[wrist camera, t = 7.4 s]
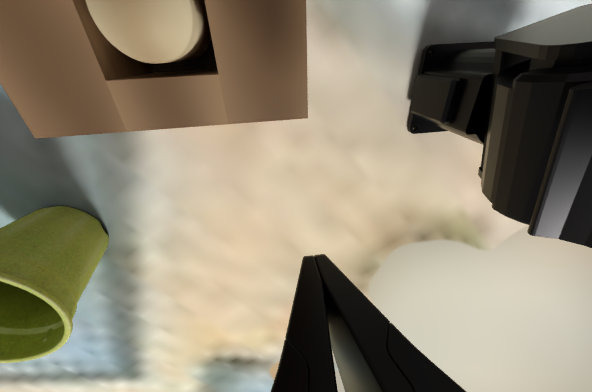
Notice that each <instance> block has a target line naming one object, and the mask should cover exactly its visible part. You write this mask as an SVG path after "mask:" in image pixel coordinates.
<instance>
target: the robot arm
mask: <svg viewBox="0 0 592 392" xmlns="http://www.w3.org/2000/svg"><path fill="white" fill-rule="evenodd" d="M430 50H432V54H431V55H430V56H429V51H430ZM410 111H411V112H410V117H409V122H408V128H407V129H408V131H409V132H410V133H413V134H417V133H428V132H440V131H450V132H453V133H455V134H458V135H460V136H463V137H465V138H468V139H470V140H473V141H475V142H478V143H480V144H483V145H484V146H483V154H482V162H481V167H479V172H478V175H479V176H480V178H481V179H482V180H481V186H482V192H483V194H484V195H485V196H486V197H487V198H488V200H489V201H490V202H491V203H492V208H493V209H494V210H496V211H498V212H499V213H501V214H503V215H504V216H506V217H508V218H511V219H513V220H516V221H518V222H521V223H524V224H528V225H529V229H528V233H529V234H530V235H532V236H539V237H547V238H554V239H560V240H565V241H569V242H572V243H576V244H581V245H584V246H587V247H590V248H592V4H588V5H584V6H580V7H577V8H574V9H572V10H569V11H566V12H563V13H560V14H558V15H555V16H552V17H549V18H547V19H544V20H541V21H538V22H536V23H533V24H530V25H527V26H525V27H522V28H519V29H516V30H514V31H511V32H508V33H505V34H503V35H500V36H497V37H495V40H494V42H477V43H456V44H436V45H428V46H427V47H425V49H424V50H423V53H422V58H421V63H420V68H419V73H418V77H417V78H416V82H415V87H414V92H413V97H412V102H411V107H410ZM415 125H416V127H415V129H413V126H415ZM331 347H332V348H331ZM332 350H333V353H334V357H335V360H336V363H337V366H338V369H339V373H340V376H341V379H342V382H343V386H344V389H345V392H466V391H465V390H464V389H462V388H461V387H460V386H459V385H458V384H457V383H456V382H454V381H453V380H452V379H451V378H450V377H449V376H448V375H446V374H445V373H444V372H443V371H442V370H440V369H439V368H438V367H437V366H436V365H435V364H434V363H433V362H431V361H430V360H429V359H428V358H427V357H426V356H425V355H424V354H423V353H421V352H420V351H419V350H418V349H417V348H416V347H415V346H414V345H413V344H412V343H411V342H410V341H409V340H408V339H407V338H406V337H404V335H402V333H401V332H400V331H399V330H398V329H396V327H395V326H394V325H393V324H392V323H390V321H389V320H388V319H387V318H386V317H385V316H384V315H383V314H382V313H381V312H380V311H379V310H378V309H377V308H376V307H375V306H374V305H373V304H372V303H371V302H370V301H369V300H368V298H367V297H366V296H365V295H364V294H363V293H362V292H361V291H360V290H359V289H358V288H357V287H356V286H355V285H354V284H353V283H352V282H351V281H350V280H349V279H348V278H347V277H346V276H345V275H344V274H343V273H342V272H341V271H340V270H339V269H338V268H337V266H336V265H335V264H334V263H333V262H332V261H331V260H330V259H329V258H328V257H327V256H326V255H324V254H320V255H315V256H304V257H303V260H302V265H301V269H300V274H299V278H298V283H297V287H296V292H295V297H294V301H293V306H292V310H291V315H290V319H289V324H288V328H287V333H286V340H285V341H284V346H283V351H282V355H281V359H280V363H279V367H278V371H277V374H276V377H275V380H274V383H273V386H272V389H271V392H338V391H337V384H336V377H335V369H334V362H333V355H332Z"/></svg>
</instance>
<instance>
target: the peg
mask: <svg viewBox="0 0 592 392" xmlns="http://www.w3.org/2000/svg"><path fill="white" fill-rule="evenodd" d="M86 4H87V7H88V10H89V12H90V14H91V16H92V18H93V20H94V22H95V24H96V25H97V27H98V28H99V30H100V31H101V33H102V34H103V35H104V36H105V37H106V39H107V40H108V41H109V42H110V43H111V44H112V45H113V46H115V47H116V48H117V49H118V50H120V51H121V52H122V53H124V54H125V55H127V56H129V57H131V58H133V59H136V60H138V61H141V62H145V63H156V64H157V63H169V62H181V61H190V60H194V59H196V58H198V57H199V56H201V55H202V54H203V53H204V52H205V51H206V49H207V47H208V46H209V43H210V40H211V32H210V27H209V21H208V16H207V11H206V6H205V4H204V2H203V0H86Z"/></svg>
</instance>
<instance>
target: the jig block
mask: <svg viewBox="0 0 592 392" xmlns="http://www.w3.org/2000/svg"><path fill="white" fill-rule="evenodd" d="M205 5H206V11H207V16H208V21H209V27H210V32H211V37H212V42H213V48H214V53H215V58H216V64H217V69H213V70H195V71H176V72H157V73H154V70H153V67H152V64H151V63H145V62H141V61H138V60H136V59H133V58H131V57H129V56H127V55H125V54H124V53H122V52H121V51H120V50H118V49H117V48H116V47H115V46H113V45H112V44H111V43H110V42H109V41H108V40H107V39H106V37H105V36H104V35H103V34H102V33H101V31H100V30H99V28H98V27H97V25H96V24H95V22H94V20H93V18H92V16H91V14H90V12H89V10H88V7H87V4H86V0H0V83H1V85H2V86H3V88H4V90H5V91H6V93H7V94H8V96H9V98H10V99H11V101H12V102H13V104H14V106H15V107H16V109H17V110H18V112H19V114H20V115H21V117H22V118H23V120H24V122H25V123H26V125H27V126H28V128H29V130H30V131H31V133H32V134H33V136H34V138H49V137H62V136H75V135H89V134H102V133H116V132H129V131H142V130H156V129H169V128H182V127H196V126H209V125H223V124H236V123H249V122H263V121H276V120H290V119H303V118H308V100H307V36H306V0H205Z"/></svg>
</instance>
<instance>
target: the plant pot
mask: <svg viewBox="0 0 592 392" xmlns="http://www.w3.org/2000/svg"><path fill="white" fill-rule="evenodd" d="M108 242H109V237H108V235H107V234H106V233H105V232H104V230H103V228H102V226H101V224H100V222H99V221H98V220H97V219H95V218H94V217H93V216H91V215H89V214H87V213H86V212H83V211H81V210H78V209H75V208H71V207H66V206H56V207H49V208H42V209H38V210H36V211H34V212H32V213H30V214H28V215H26V216H24V217H22V218H20V219H18V220H16V221H14V222H12V223H10V224H8V225H6V226H4V227H2V228H0V363H11V362H22V361H27V360H33V359H37V358H40V357H43V356H46V355H48V354H50V353H52V352H54V351H56V350H58V349H60V348H61V347H62V346H63V345H64V344H65V343H66V341H67V340H68V338H69V337H70V335H71V332H72V327H73V324H72V318H73V316H74V314H75V312H76V308H77V302H78V300H79V299H80V297H81V295H82V293H83V291H84V289H85V287H86V285H87V284H88V282H89V280H90V278H91V276H92V274H93V272H94V270H95V269H96V267H97V265H98V263H99V261H100V259H101V258H102V256H103V254H104V252H105V250H106V248H107V246H108Z"/></svg>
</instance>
